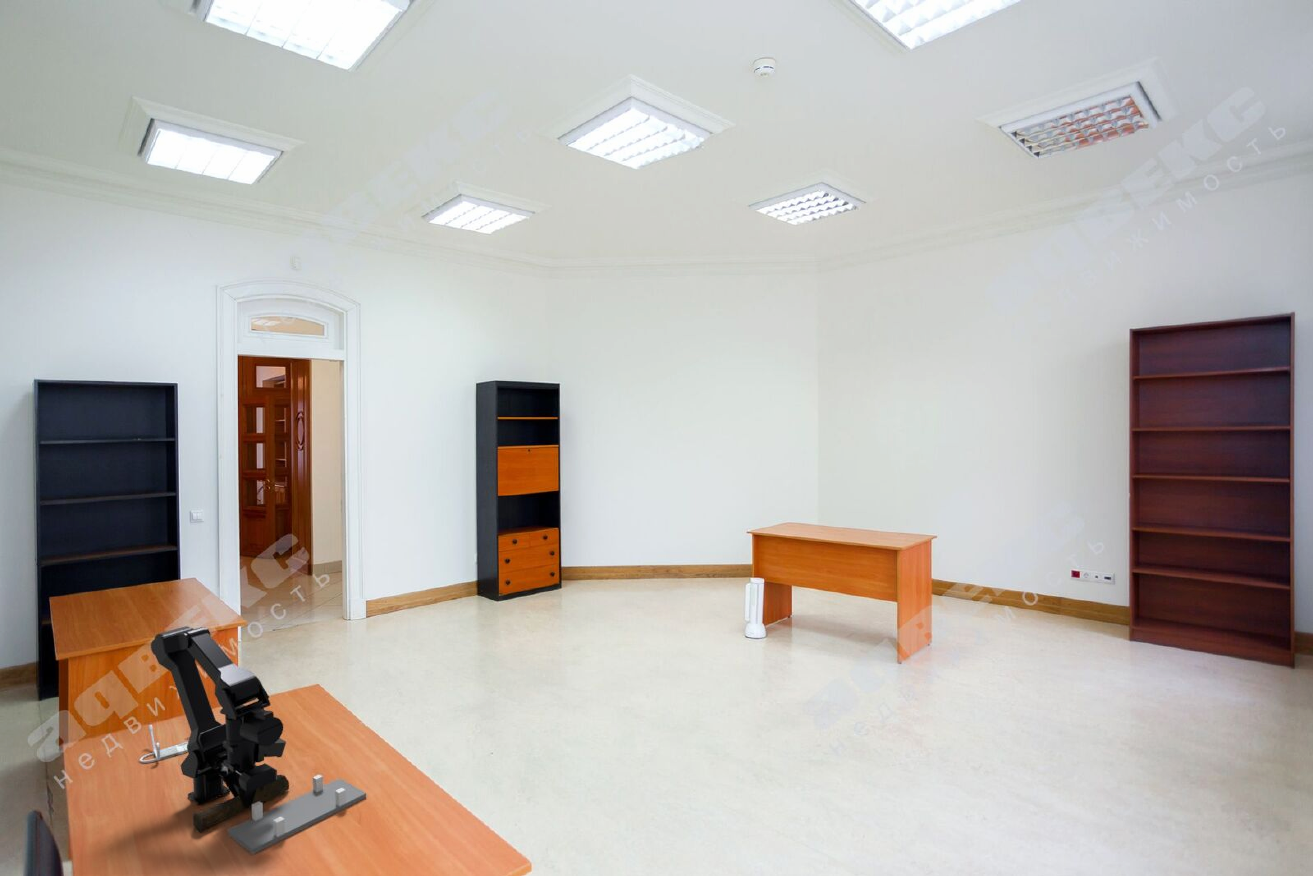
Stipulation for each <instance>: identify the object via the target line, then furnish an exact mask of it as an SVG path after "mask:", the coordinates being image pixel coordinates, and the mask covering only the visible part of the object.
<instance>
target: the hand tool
mask: <svg viewBox="0 0 1313 876" xmlns="http://www.w3.org/2000/svg"><path fill="white" fill-rule="evenodd" d="M289 790H290V783H289V779H288V778H287V777H286V775H285V774H277V780H276V781H274V782H271V783H269V784H267V785H264V786H262V787H260V788H257V790H256V793H255V797H254V800H253V803H252V804H254V803H256V802H259V801H260V802H261V803H262V804H267V803H270V802H272V801H274V800H275V799H277V798H279V797H280V796H282V795H283V794H284V793H286V792H287V791H289ZM250 808H252V806H251V807H250ZM246 810H247V809H245V807H244V805H243V803H242V801H241V799H240V797H239V795H238V796H236V797H234V796H233V797H232V798H230V799H228V800H225V801H223V802H220V803H218V804H216V805H213V806H211V807H208V808H206V809H203V810H202V811H197V812H193V815H192V821H193V823H192V825H193V827H194V829H195V831H196V832H198V833H202V832H203V830H205V829H208V830H209V829H211V826H213V825H215V824H217V823H221V822H222V821H224V820H225V819H229V818H230V817H232V816H235V815H237V814H239V813H241V812H244V811H246Z"/></svg>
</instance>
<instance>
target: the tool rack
mask: <svg viewBox="0 0 1313 876" xmlns="http://www.w3.org/2000/svg"><path fill="white" fill-rule="evenodd" d="M366 798H367V793H366V792H365V791H363V790H361V789H359V788H358V787H357V786H354V785H352V784H351V783H349V782H347V781H346V780H344V779H342V778H341V777H339V778H337V779H334V780H333V781H331V782H328V783H326V784H324V776H323V775H321V774H317V775H315V776H313V777H312V790H311V791H309V792H306V793H304V794H302V795H300V796H298V797H295V798H293V799H292V800H289V801H288V802H284V803H283V804H280V805H278V806H276V807H274V808H272V809H270V810H268V811H265V812H264V809H263V804H264V803H261V802H260V801H259V802H256V803H254V804H252V807H251V818H250V819H248V820H246V821H244V822H241V823H239V824H237V825H234V826H233V827H230V828H229V829H227V835H228V836H229V837H230V838H232V839H233V840H234V841H235V842H237V843H238V844H239V845H241V846H242V847H243V849H245V850H247V851H248V852H249V853H250V854H251V855H255V854H257V853H258V852H260V851H263V850H265V849H267V848H268V847H270V846H272V845H274V844H276V843H279V842H280V841H282V840H284V839H286V838H288V837H291V836H292V835H295V834H297V833H299V832H300V831H302V830H304V829H306V828H309V827H310V826H312V825H315V824H317V823H318V822H321V821H322V820H324V819H326V818H328V817H330V816H332V815H334V814H336V813H338V812H341V811H343V810H344V809H346V808H348V807H350V806H353V805H354V804H356V803H358V802H360V801H362V800H364V799H366Z"/></svg>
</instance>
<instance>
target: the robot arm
mask: <svg viewBox="0 0 1313 876" xmlns="http://www.w3.org/2000/svg"><path fill="white" fill-rule="evenodd" d="M150 649H151V653H152V654H153V655H154V656H155V659H156V660H157V663H158V664H159V665H160V666H161V667H163V668H165V669H166V670H168V671H169V672H170V673H171V676H172V679H173V682H174V685H175V688H176V690H177V694H178V696H179V700H180V702H181V705H182V708H183V711H184V714H185V717H186V720H187V723H188V726H189V729H190V734H189V737H188V741H187V742H188V744H187V750H188V752H187V753H188V755H186V757H185V758H184V759H183V761H182V763H181V764H180V770H181V774H182V775H183V776H186V777H188V778H191V779H192V783H193V787H192V788H193V789H192V790H193V791H191V792H189V793H187V798H189V799H190V800H191V801H192V802H194V803H195V804H196V805H197V806H201V805H204V804H206V803H208V802H210V801H212V800H215V799H218V798H220V797H222V796H225V795H228V794H229V793H231V795H232V797H233V798H234V797H236V796H238V795H239V797H240V799H241V801H242V803H243V805H244V807H245V809H246V810H248V809H251V808H252V807H251V806H252V803H253V800H254V797H255V793H256V790H257V788H260V787H262V786H264V785H267V784H269V783H271V782H274V781H276V780H277V775H278V770H277V769H276V768H274V767H273V766H271V765H269V764H267V763H262V764H260V763H261V762H264V761H265V758H273V757H276V758H282V757H283V754H284V752H285V747H286V744H287V741H286V740H284V739H283V738H281V736H282V734H283V732H284V723H283V721H282V720H281V719H280V718H279V717H277V716H274V715H275V714H274V711H272V710H265V708H269V707H270V706H271V702H270V700H269V698H270V696H269V694H268V693H267V690H266V689H265V687H264V686H263V683H262V682H261V680H260V678H258V676H257V675H255V674H254V673H253V672H252V671H251V670H249V669H248V668H245V667H241V666H237V665H236V664H235V663H234V662H233V661H232V659H231V658H230V657H229V656H228V655H227V654H226V652H225V651H224V649H222V648H221V646H219V644H218V643H217V641H216V640H214V638H213V637H212V636H211V632H210V629H209V628H208V627H202V626H201V627H197V628H193V627H190V626H188V625H186V626H183V627H179V628H174V629H173V630H168V631H167V630H166V631H163V632H160V633H158V634H156V635H155V637H154V639H153V640H151V643H150ZM197 664H198V665H199V666H200V668H202V670H203V671H204V672H205V674H206V675H207V676H208V677H209V678H210V679H211V681H212V682H213V684H214V685H215V686H214V696H215V697H216V699H217V702H218V704H219V705H220V707H221V709H220V710H219V713H220V714H221V715H224V717H225V719H224V720H225V723H223V724H222V723H221V722H219V721H218V720H216V717H215V715H214V712H213V707H212V706H211V702H210V701H209V698H208V697H209V696H208V694H207V691H206V688H205V686H204V682H203V681H202V677H201V674H200V672H199V668H198V665H197ZM255 700H257V701H255ZM253 701H254V702H253ZM250 702H252V703H250ZM245 704H246V705H245ZM256 763H257V764H260V765H256ZM224 784H225V785H224Z"/></svg>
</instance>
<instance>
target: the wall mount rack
mask: <svg viewBox="0 0 1313 876" xmlns="http://www.w3.org/2000/svg"><path fill="white" fill-rule="evenodd" d="M148 731H149V733H150V739H151V744H152V750H153V751H152V752H151V753H148V754H144V755H143V756H142V757H140V758H139V763H152V762H156V761H160V760H161V761H163V760H166V759H170V758H173V757H176V756H175V755H177V756H179V755H183V753H184V754H187V753H188V750H187V744H188V741H186V742H182V743H180V744H177V745H172V746H170V747H166V748H162V749H161V748H160V742H156V741H155V738H154V737H155V736H154V727H153V725H152V724H149V725H148ZM186 752H187V753H186ZM150 755H151V756H155V758H152V759H147V760H145V759H146V758H148V757H150ZM147 756H148V757H147ZM172 756H173V757H172ZM145 757H146V758H145Z"/></svg>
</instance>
